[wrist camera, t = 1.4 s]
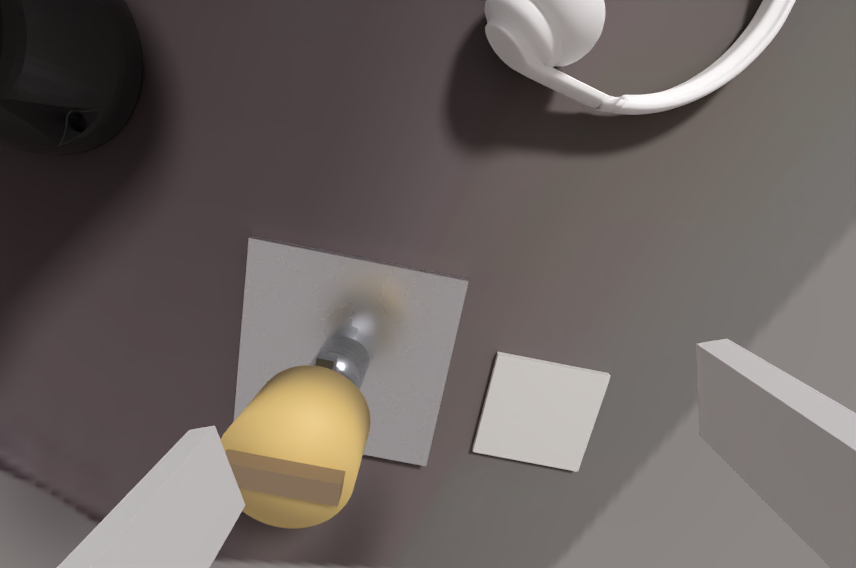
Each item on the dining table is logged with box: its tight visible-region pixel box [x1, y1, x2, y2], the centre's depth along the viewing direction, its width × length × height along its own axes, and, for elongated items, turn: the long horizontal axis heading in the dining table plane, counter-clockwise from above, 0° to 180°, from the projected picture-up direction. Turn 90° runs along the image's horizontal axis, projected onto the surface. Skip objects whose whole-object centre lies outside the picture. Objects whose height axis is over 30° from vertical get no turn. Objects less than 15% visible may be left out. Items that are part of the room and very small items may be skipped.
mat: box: [472, 352, 611, 472], centre depth 37 cm, size 10×10×1 cm
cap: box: [221, 365, 371, 528], centre depth 24 cm, size 8×8×6 cm
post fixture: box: [234, 236, 468, 466], centre depth 32 cm, size 18×18×10 cm
